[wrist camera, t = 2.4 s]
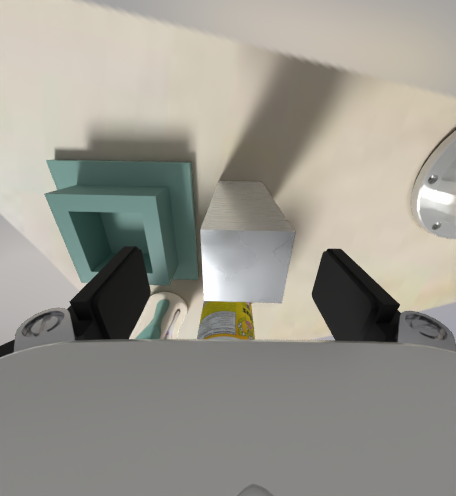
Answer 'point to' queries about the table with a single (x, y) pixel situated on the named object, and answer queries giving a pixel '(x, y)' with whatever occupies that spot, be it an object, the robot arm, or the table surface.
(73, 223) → the well
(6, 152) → the table surface
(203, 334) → the supplement bottle
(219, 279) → the silver square block
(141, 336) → the beer glass
